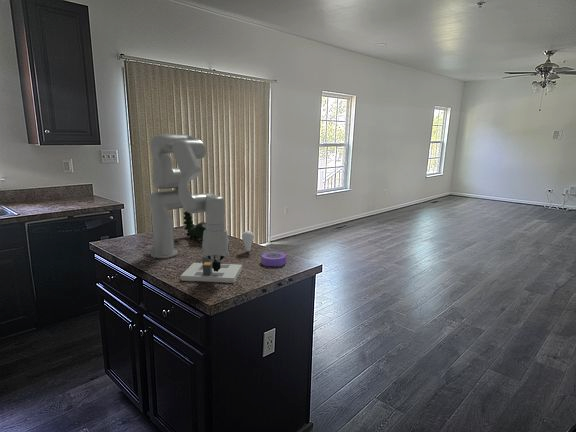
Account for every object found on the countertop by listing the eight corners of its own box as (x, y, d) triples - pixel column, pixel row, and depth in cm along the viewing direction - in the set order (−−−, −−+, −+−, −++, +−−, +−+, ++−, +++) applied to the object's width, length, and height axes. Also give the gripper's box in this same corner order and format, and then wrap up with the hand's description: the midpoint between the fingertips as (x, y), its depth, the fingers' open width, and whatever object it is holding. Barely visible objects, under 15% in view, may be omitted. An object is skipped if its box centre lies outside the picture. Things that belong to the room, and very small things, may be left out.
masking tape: (256, 263, 170) (256, 255, 169) (272, 257, 178) (272, 249, 178) (274, 269, 162) (274, 260, 162) (291, 262, 171) (291, 254, 170)
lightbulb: (242, 249, 189) (242, 229, 186) (254, 249, 189) (253, 229, 187) (241, 253, 183) (241, 232, 181) (253, 253, 183) (253, 232, 181)
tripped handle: (203, 274, 147) (202, 264, 146) (205, 272, 150) (205, 262, 149) (210, 274, 147) (210, 264, 146) (212, 272, 150) (212, 262, 149)
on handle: (202, 265, 157) (202, 257, 156) (204, 263, 160) (204, 255, 159) (209, 266, 157) (209, 257, 156) (211, 263, 160) (211, 255, 159)
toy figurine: (181, 240, 211) (204, 245, 194) (178, 208, 209) (201, 210, 191) (195, 237, 218) (219, 242, 200) (192, 206, 215) (216, 208, 197)
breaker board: (180, 280, 147) (180, 275, 146) (193, 266, 162) (193, 262, 162) (234, 282, 145) (234, 277, 145) (242, 268, 161) (242, 264, 161)
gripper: (194, 228, 141) (195, 273, 145) (231, 229, 140) (232, 274, 144) (199, 224, 148) (201, 266, 152) (235, 225, 148) (236, 268, 151)
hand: (216, 270), depth 148 cm, fingers closed
